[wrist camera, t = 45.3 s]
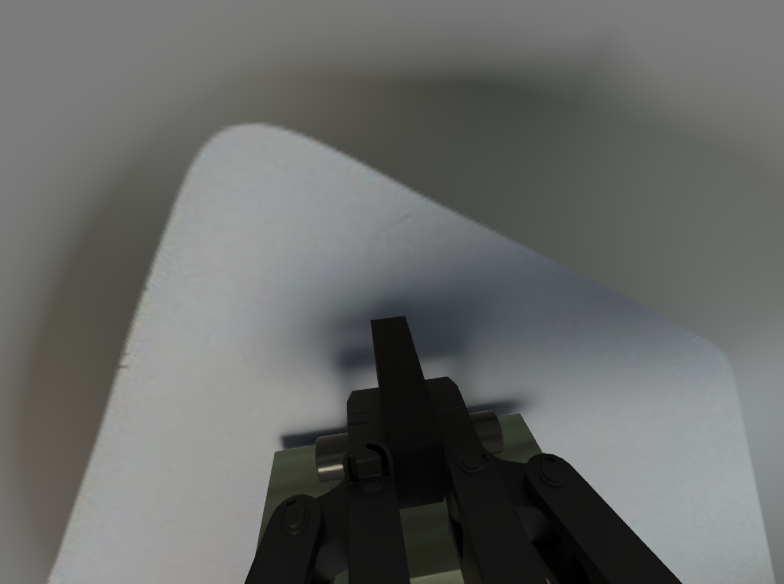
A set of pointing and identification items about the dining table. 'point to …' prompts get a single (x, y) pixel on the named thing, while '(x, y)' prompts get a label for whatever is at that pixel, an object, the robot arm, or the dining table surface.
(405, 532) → the drawer
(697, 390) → the dining table surface
